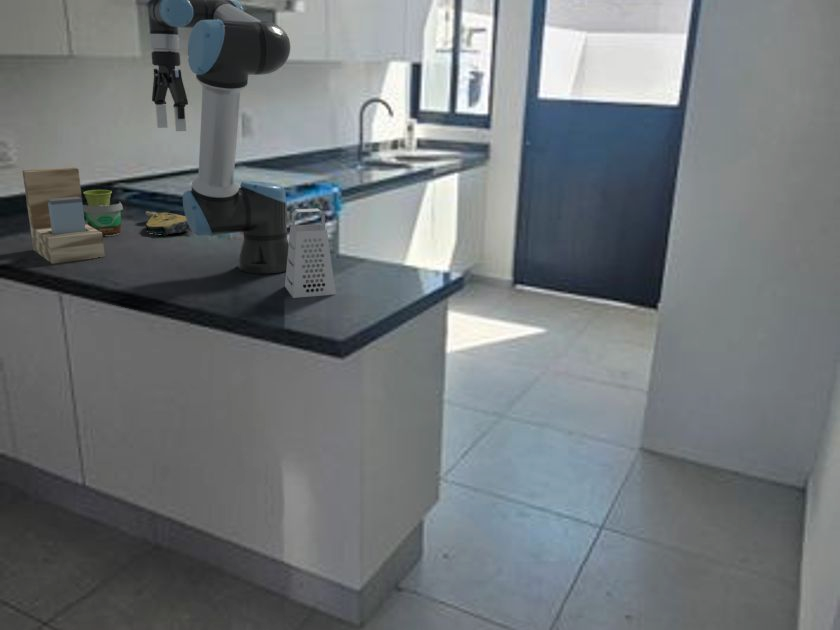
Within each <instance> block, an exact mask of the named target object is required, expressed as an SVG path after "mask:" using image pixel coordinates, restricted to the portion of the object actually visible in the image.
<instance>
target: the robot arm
mask: <svg viewBox="0 0 840 630" xmlns="http://www.w3.org/2000/svg"><path fill="white" fill-rule="evenodd" d="M146 7H147V15H148V28H149V43H150V45H149V46H150V50H152V51H151V64H152V65H153V66H156V67H157V66H158V68H153V84H152V92H151V93H152V94H151V102H153V103H154V105H155V112H156V125H157V128H159V129H161V128H162V129H163V128H165V129H166V128H169V127H168V115H167V101H166V98H167V92H168V90H169V92H170V94H171V97H172V100H173V106H172V107H173V109H174V111H173V112H174V123H175V124H174V125H175V132H187V123H186V109H185V107H186V106H187V105H188V104H189V101H188V96H187V93H186V89H185V86H184V81H183V77H182V71H181V69H176V67H180V66H181V53H180V52H178V51H179V50H180V41H181V39H180V38H179V29H178V28H184V29H185V28H188V29H189V28H190V29H191V28H192V29H191V31H190V34H189V38H188V43H187V56H188V59H187V62H188V66H189V69H190V71H191V72H192V73H193V74H195V75H196V77H195V78H196V81H198V83H199V84H200V85H201V86H202V90H201V91H202V93H201V94H202V95H201V110H200V111H201V115H200V134H199V136H200V137H199V153H198V154H199V156H198V176H196V177H195V178H194V179H192V181H191V190H189V189H188V190H187V191H184V192H183V194H182V206H183V211H184V216H186V219H187V222H188V224H189V227H190V229H189V230H191V232H192V233H193V234H195V235H196V236H198V237H199V236H200V237H202V236H203V237H206V236H210V237H212V236H217V235H226V234H236V233H243V242H242V245H241V249H240V252H239V255H238V261H237V262H238V264H237V265H238V270H240V271H242V272H244V273H250V274H258V275H259V274H263V275H264V274H266V275H267V274H279V273H284V272H285V273H286V268H287V257H288V246H289V238H288V224H287V223H288V221H287V220H288V217H287V205H288V202H287V197H286V190H285V188H284V187H283V186H282V185H280V184H276V183H272V182H265V181H256V180H243V181H241V182H240V185H239V184H238V183H237V182H236V181H235V179H234V177H235V165H236V154H237V153H236V151H237V140H238V126H239V125H238V124H239V112H240V100H241V99H240V98H241V91H242V90H244V89H245V88H246V87H247V86H248V81H249V76H251V75H254V76H255V75H260V76H262V75H267V74H272V73H274V72H276V71H278V70H279V69H281V68H282V67H283V66H284V65H285V64H286V63H287V61H288V59H289V56H290V55H291V54H290V53H291V41H290V38H289V36H288V34H287V32H286V31H285V30H284V28H282V27H281V26H280V25H278V24H276V23H274V22H272V21H269V20H260V19H259V18H256V17H255V16H252V15H250V14H249V13H247V12H245V11H244V8H243V6H242V4H241V3H240V2H239V1H236V0H146Z"/></svg>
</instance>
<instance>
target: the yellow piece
mask: <svg viewBox="0 0 840 630" xmlns="http://www.w3.org/2000/svg"><path fill="white" fill-rule="evenodd" d="M144 215H145V216H146V217H148V218H149V219H148V221H147V222H146V223H145V228H146V229H145V231H146V232H147V231H148V232H147V233H153V234H156V235H155V236H157V235H158V234H161V235H164V236H168V234H169V235H172V234H178V233H180V234H182V233H183V232H187V231H189V230H191V229H190V227H189V224H188V222H187V219H186V216H185V215H182V214H181V215H180V214H176V213H171V212H156V211H149V210H145V211H144Z"/></svg>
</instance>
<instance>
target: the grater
mask: <svg viewBox="0 0 840 630" xmlns="http://www.w3.org/2000/svg"><path fill="white" fill-rule="evenodd" d="M311 212H320V213H321V223H317V224H316V223H314V224H297V225H296V224H295V222H296V216H297V215H298V213H311ZM289 228H290V229H289V235H288V236H289V237H288V242H289V246H288V257H287V268H286V271H285V279H284V280H285V283H284V287H285V288H286V290H287V291H288V293H289V294H290V296H291V297H292V298H293V299H296V298H310V297H321V296H333V295H334V296H335V295H336V294H337V293H336V292H337V291H336V285H335V277H334V270H333V265H332V257H331V250H330V243H329V235H328V229H327V228H326V215H325V214H324V213H323V211H322V210H320V209H319V208H317V207H316V208H300V209H296V208H295V209H293V211H292V212H291V225H290V226H289ZM323 284H324V285H323ZM308 285H310V287H309V286H308ZM313 285H315V286H313ZM318 285H319V286H318ZM304 286H305V287H304ZM312 289H313V291H311V290H312ZM317 289H318V291H317ZM321 289H323V290H321ZM307 290H309V291H307Z"/></svg>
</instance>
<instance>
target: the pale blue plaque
mask: <svg viewBox="0 0 840 630" xmlns="http://www.w3.org/2000/svg"><path fill="white" fill-rule="evenodd" d="M47 200H48V207H49V215H50V222H51V230H52V235H59V234H68V233H77V232H86V229H85V224H86V222H85V221H86V219H85V212H83V207H84V206H83V205H84V204H83V198H80V197H66V198H54V199H47Z"/></svg>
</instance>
